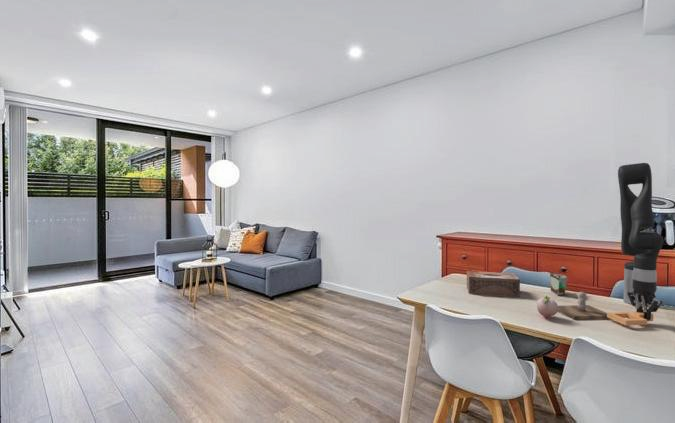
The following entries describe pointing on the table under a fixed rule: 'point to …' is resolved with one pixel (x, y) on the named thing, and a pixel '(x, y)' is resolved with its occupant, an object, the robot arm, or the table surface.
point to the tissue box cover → (493, 283)
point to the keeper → (582, 310)
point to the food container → (558, 284)
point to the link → (629, 318)
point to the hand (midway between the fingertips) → (643, 318)
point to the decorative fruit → (547, 307)
